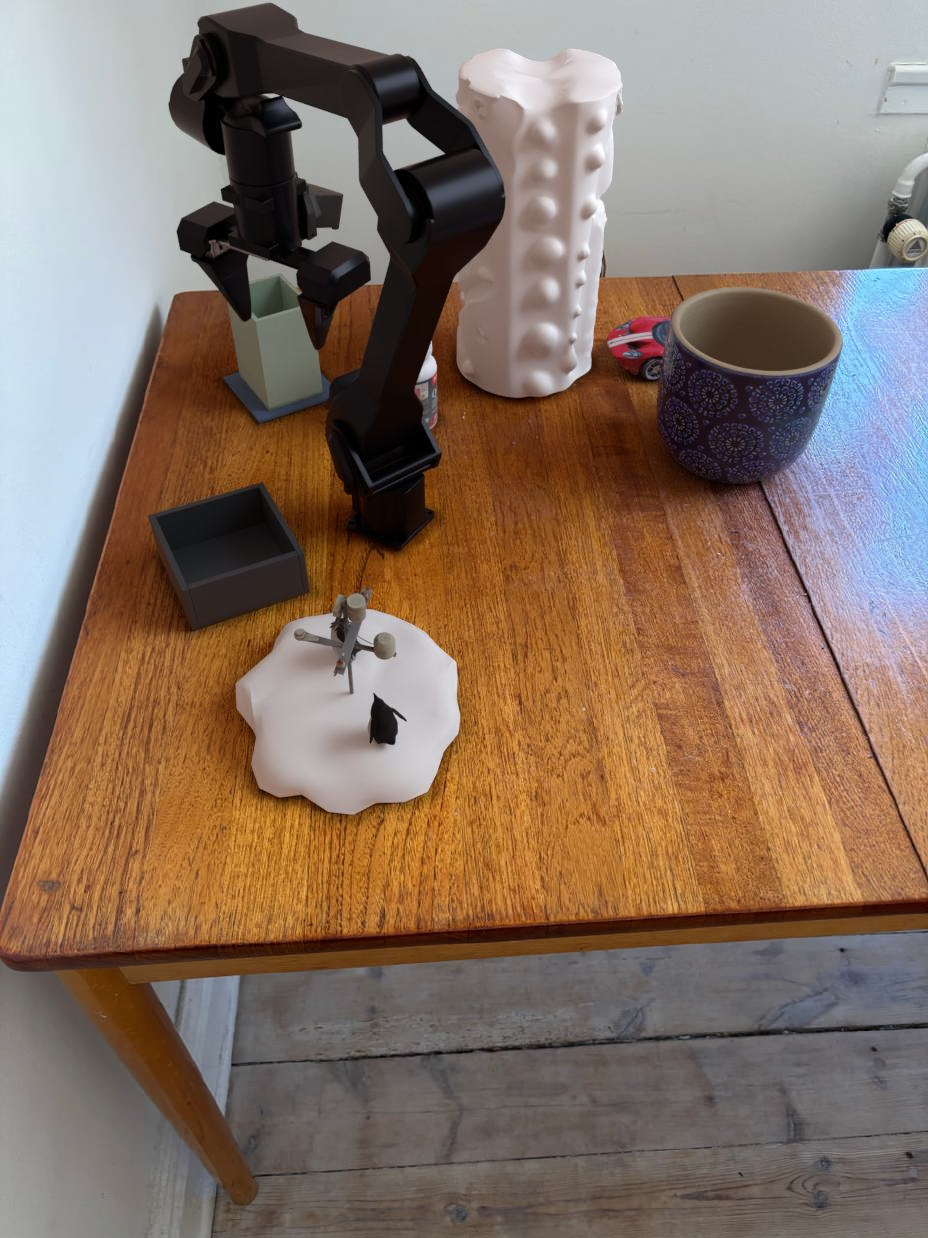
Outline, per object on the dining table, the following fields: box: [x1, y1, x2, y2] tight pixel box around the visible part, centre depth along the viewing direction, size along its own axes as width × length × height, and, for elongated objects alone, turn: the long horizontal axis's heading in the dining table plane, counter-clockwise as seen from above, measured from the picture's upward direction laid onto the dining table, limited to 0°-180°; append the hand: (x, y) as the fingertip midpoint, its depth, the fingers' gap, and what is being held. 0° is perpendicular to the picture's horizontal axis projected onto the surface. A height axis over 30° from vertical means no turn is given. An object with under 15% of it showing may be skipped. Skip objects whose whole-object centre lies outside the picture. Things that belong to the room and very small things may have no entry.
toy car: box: [606, 316, 671, 381], centre depth 118 cm, size 10×22×5 cm, turn 93°
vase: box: [455, 47, 625, 399], centre depth 108 cm, size 17×16×32 cm
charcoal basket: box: [147, 481, 311, 632], centre depth 92 cm, size 11×11×5 cm
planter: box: [655, 286, 844, 485], centre depth 102 cm, size 17×17×15 cm
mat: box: [222, 371, 332, 424], centre depth 115 cm, size 10×10×1 cm
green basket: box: [226, 272, 323, 411], centre depth 111 cm, size 8×7×11 cm
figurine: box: [235, 586, 461, 816], centre depth 77 cm, size 20×18×16 cm
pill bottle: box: [414, 340, 439, 430], centre depth 107 cm, size 6×6×10 cm
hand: (282, 333), depth 99 cm, fingers open, 9 cm apart
